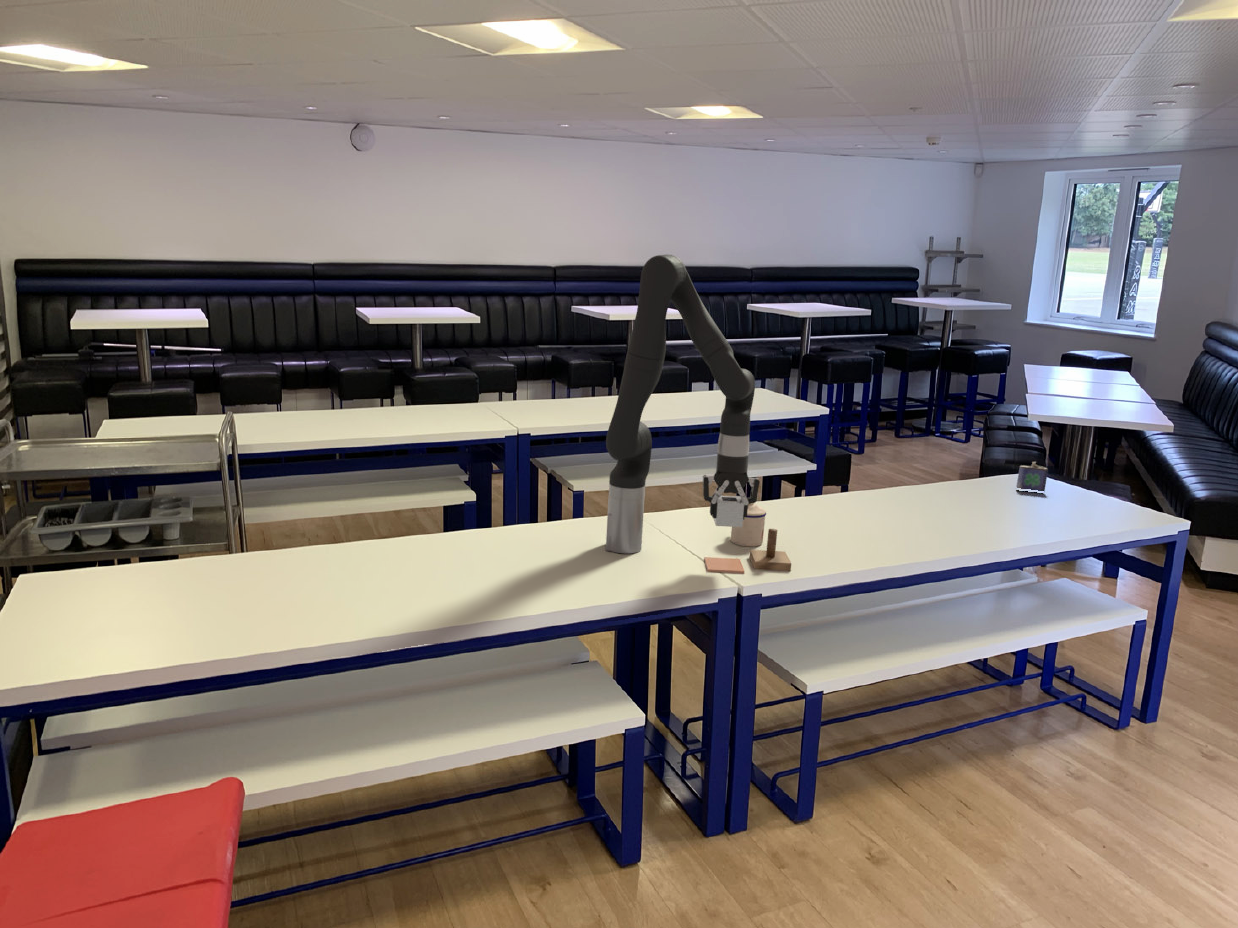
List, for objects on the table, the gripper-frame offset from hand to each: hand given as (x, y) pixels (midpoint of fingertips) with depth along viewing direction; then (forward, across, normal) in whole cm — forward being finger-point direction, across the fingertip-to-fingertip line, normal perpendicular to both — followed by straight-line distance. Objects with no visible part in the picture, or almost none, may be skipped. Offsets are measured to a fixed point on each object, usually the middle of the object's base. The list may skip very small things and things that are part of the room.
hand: (728, 517), depth 228 cm
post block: (+13, +12, +4) cm, 18 cm away
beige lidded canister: (+13, +8, +22) cm, 27 cm away
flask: (+13, +117, +94) cm, 150 cm away
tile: (+13, 0, 0) cm, 13 cm away
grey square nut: (+1, 0, 0) cm, 1 cm away
